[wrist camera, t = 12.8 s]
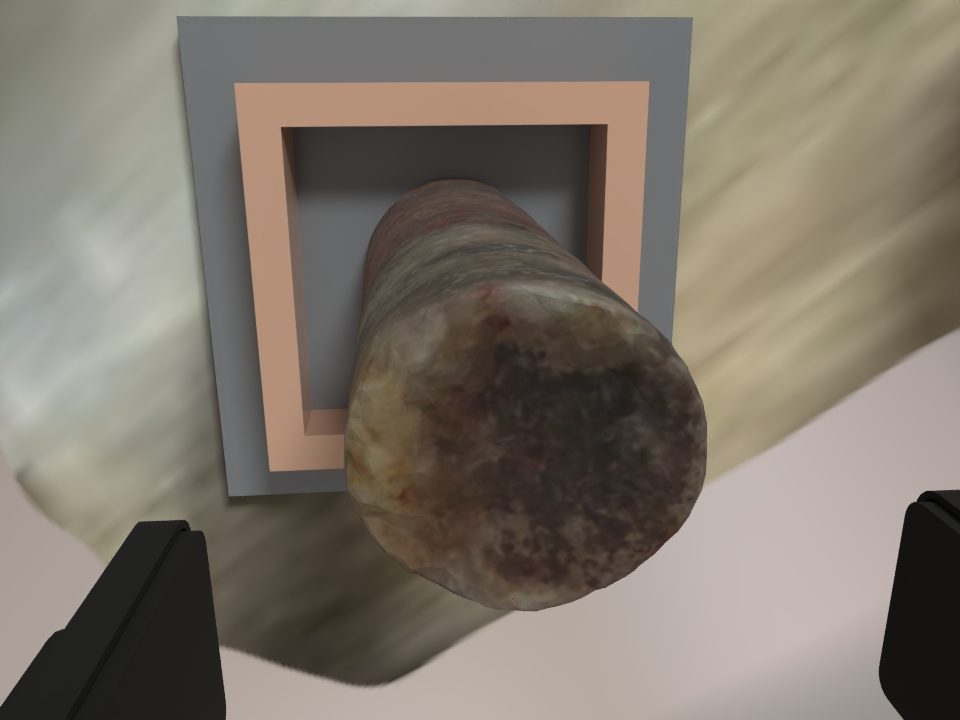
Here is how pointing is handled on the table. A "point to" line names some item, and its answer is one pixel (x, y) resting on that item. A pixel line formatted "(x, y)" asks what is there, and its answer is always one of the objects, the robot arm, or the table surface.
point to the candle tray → (407, 185)
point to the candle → (511, 408)
